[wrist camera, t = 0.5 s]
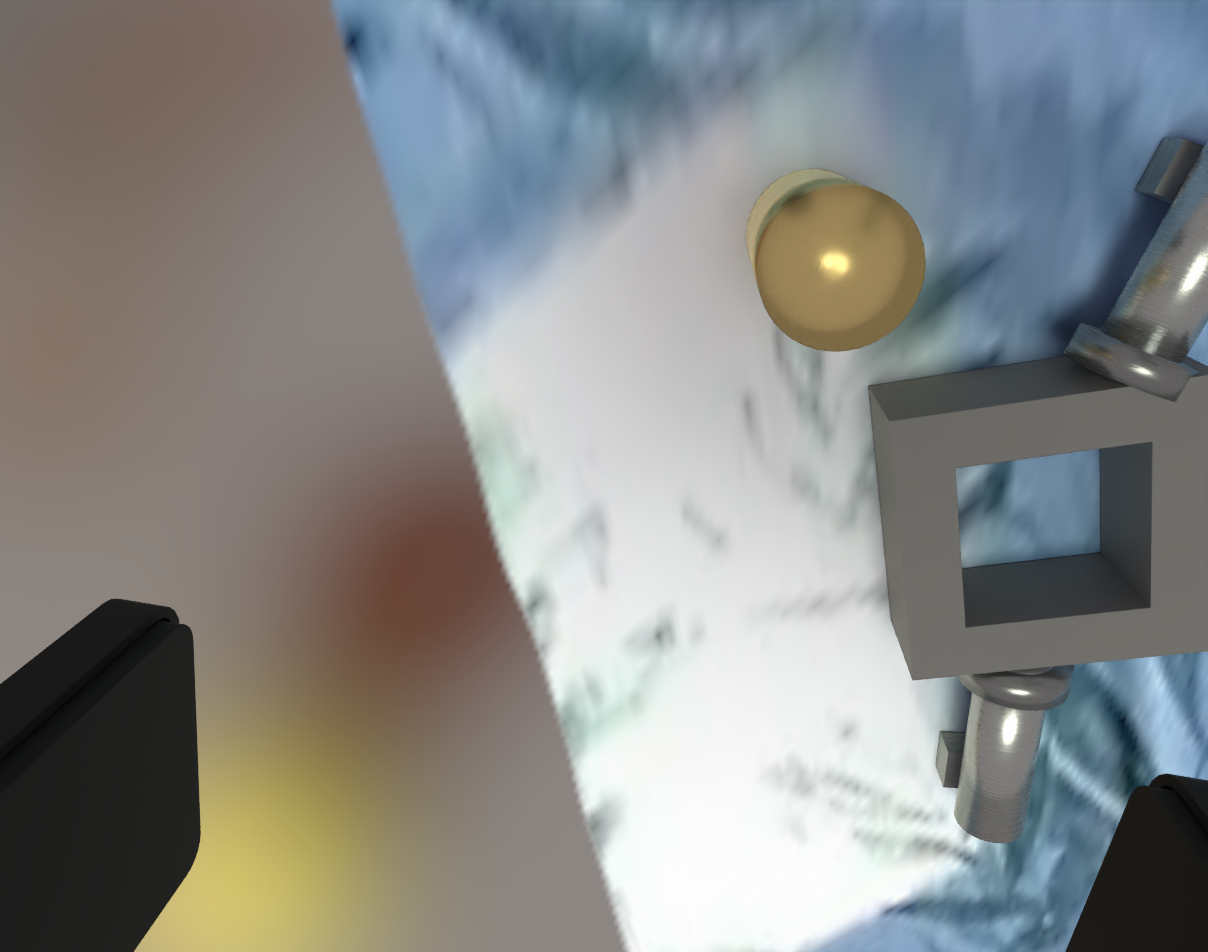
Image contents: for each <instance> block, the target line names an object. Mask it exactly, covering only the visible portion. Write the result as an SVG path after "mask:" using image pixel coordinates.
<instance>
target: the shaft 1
mask: <svg viewBox="0 0 1208 952" xmlns="http://www.w3.org/2000/svg"><path fill="white" fill-rule="evenodd" d="M1073 670H1074V664H1073V665H1063V666H1053V667H1042V668H1032V669H1022V670H1012V671H1002V672H992V673H982V674H972V675H962V676H958V678H959V680H960V681H961V683H962V684H963V685H964V686H965V687H966V688H967V689H968V690H969V691H971V692H972V697H971V703H970V710H969V717H968V723H967V730H966V733H957V732H940V737H939V745H938V752H937V759H936V768H937V770H938V773H939V776H940V779H941V782H942V785H943V787H950V788H958V790H957V797H956V804H955V810H954V815H955V818H956V821H957V822H958V824H959V825H960V826H961V827H962V828H963V829H964V830H965V831H966V832H968V833H969V834H971V835H972V836H974V837H976V838H979V839H981V840H984V841H988V842H992V843H1009V842H1012V841H1015V840H1017V839H1018V838H1019V837H1020V836H1021V835H1022V833H1023V830H1024V825H1025V819H1026V814H1027V808H1028V803H1029V797H1030V792H1031V787H1032V781H1033V776H1034V770H1035V765H1036V759H1037V754H1038V749H1039V743H1040V738H1041V732H1042V727H1043V722H1044V716H1045V711H1046V710H1047V709H1051V708H1055V707H1057V706H1059V705H1061V704H1062V703H1064V702H1065V701H1066V699H1067V698H1068V695H1069V690H1070V685H1071V680H1072V675H1073Z"/></svg>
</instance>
